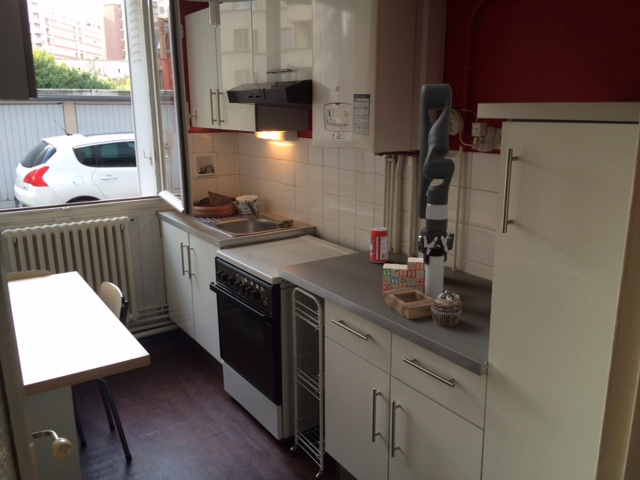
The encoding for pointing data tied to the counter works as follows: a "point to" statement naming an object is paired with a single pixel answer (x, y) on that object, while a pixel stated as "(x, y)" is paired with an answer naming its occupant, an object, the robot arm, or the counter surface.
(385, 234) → the soda can
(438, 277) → the travel mug
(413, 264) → the stack of blocks
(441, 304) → the cupcake
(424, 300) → the holder board
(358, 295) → the counter surface
